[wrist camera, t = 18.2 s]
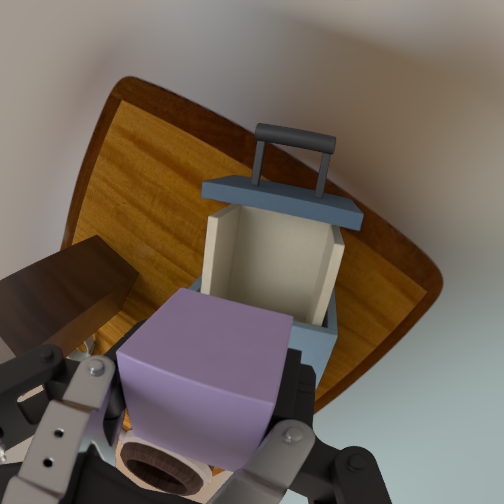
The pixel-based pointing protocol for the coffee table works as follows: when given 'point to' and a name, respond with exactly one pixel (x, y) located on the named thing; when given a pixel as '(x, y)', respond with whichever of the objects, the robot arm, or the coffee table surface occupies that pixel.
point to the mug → (163, 466)
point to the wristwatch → (80, 355)
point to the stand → (62, 298)
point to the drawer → (277, 235)
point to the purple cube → (205, 377)
